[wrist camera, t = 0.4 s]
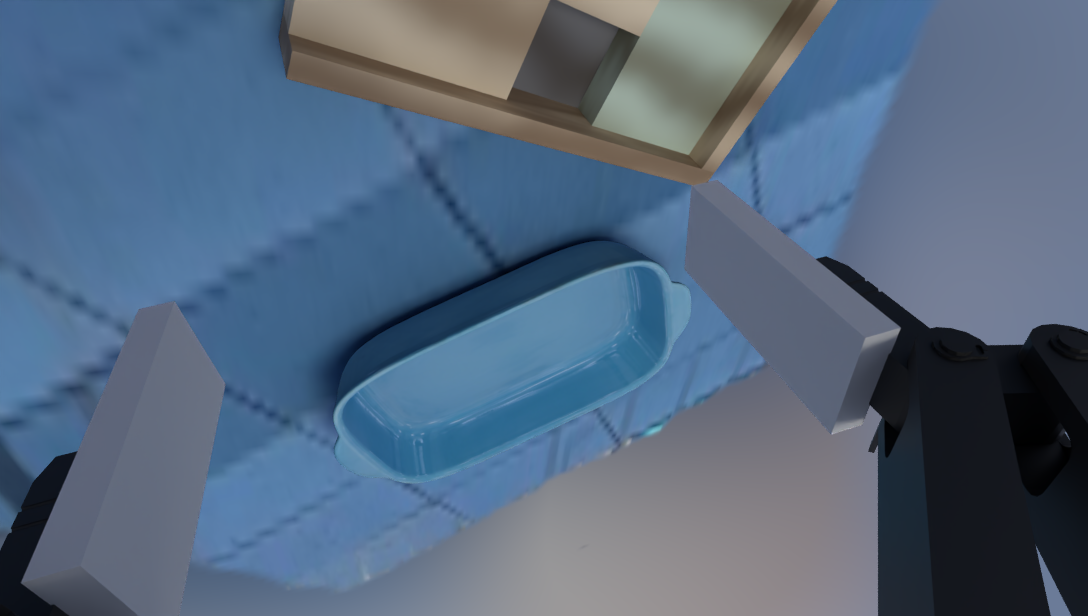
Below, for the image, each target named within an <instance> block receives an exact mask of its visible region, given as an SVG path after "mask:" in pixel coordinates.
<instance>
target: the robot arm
mask: <svg viewBox="0 0 1088 616" xmlns="http://www.w3.org/2000/svg"><path fill="white" fill-rule="evenodd" d="M685 270H686V271H687V273H688V274H689V275H690V276H691V277H692V278H693V279H694V281H695V282H696V283H697V284H698V285H699V286H700V287H701V288H702V290H703V291H704V292H705V293H706V294H707V295H708V296H709V297H710V299H711V300H712V301H713V302H714V303H715V304H716V305H717V306H718V308H719V309H720V310H721V311H722V312H723V313H724V314H725V315H726V317H727V318H728V319H729V320H730V321H731V322H732V323H733V325H734V326H735V327H736V328H737V329H738V330H739V331H740V332H741V334H742V335H743V336H744V337H745V338H746V339H747V340H748V341H749V343H750V344H751V345H752V346H753V347H754V348H755V349H756V350H757V352H758V353H759V354H760V355H761V356H762V357H763V358H764V359H765V361H766V362H767V363H768V364H769V365H770V366H771V367H772V369H773V370H775V372H776V373H777V374H778V375H779V376H780V377H781V379H782V380H783V381H784V382H785V383H786V384H787V385H788V387H789V388H790V389H791V390H792V391H793V392H794V393H795V394H796V396H797V397H798V398H799V399H800V400H801V401H802V402H803V403H804V404H805V406H806V407H807V408H808V409H809V410H810V411H811V413H812V414H813V415H814V416H815V417H816V418H817V419H818V420H819V421H820V422H821V424H822V425H823V426H824V427H825V428H826V429H827V430H828V432H829V433H830V434H834V433H838V432H841V431H844V430H847V429H850V428H853V427H857V426H860V425H862V423H863V421H864V419H865V416H866V414H867V411H868V409H869V406H870V405H871V406H872V407H873V408H874V409H875V410H876V411H877V412H878V413H879V414H880V415H881V416H882V419H881V421H880V423H879V426H878V428H877V430H876V433H875V435H874V437H873V440H872V442H871V445H870V448H869V452H872V453H874V452H875V449H876V447H877V445H878V616H1051V615H1050V610H1049V606H1048V601H1047V596H1046V592H1045V587H1044V582H1043V578H1042V573H1041V568H1040V564H1039V559H1038V554H1037V550H1036V546H1037V548H1038V550H1039V552H1040V554H1041V556H1042V558H1043V560H1044V562H1045V564H1046V566H1047V568H1048V570H1049V572H1050V574H1051V576H1052V578H1053V580H1054V582H1055V584H1056V586H1057V588H1058V590H1059V592H1060V594H1061V596H1062V597H1063V600H1064V602H1065V604H1066V606H1067V608H1068V609H1069V612H1070V614H1071V616H1088V332H1087V331H1084V330H1082V329H1077V328H1075V327H1071V326H1065V325H1058V324H1049V325H1041V326H1039V327H1036V328H1034V329H1033V330H1032V331H1031V333H1030V335H1029V336H1028V338H1027V340H1026V342H1025V343H1024V345H986V344H985V343H984V342H982V341H981V340H980V339H978V338H976V337H974V336H973V335H970V334H969V333H967V332H963V331H959V330H956V329H952V328H939V327H935V328H929V327H927V326H926V325H925V324H924V323H922V322H921V321H920V320H918V319H917V318H916V317H914V316H913V315H912V314H910V313H909V312H908V311H907V310H905V309H904V308H903V307H901V306H900V305H899V304H897V303H896V302H895V301H893V300H892V299H891V298H890V297H888V296H887V295H886V294H884V293H883V292H879V291H878V288H876V287H875V286H874V285H873V284H871V283H870V282H869V281H865V278H864V277H862V276H861V275H860V274H858V273H857V272H855V271H854V270H853V269H852V268H850V267H849V266H847V265H845V264H843V263H840V262H838V261H836V260H833V259H831V258H829V257H822V258H818V259H815V258H814V257H812V256H811V255H810V254H809V253H807V252H806V251H805V250H804V249H802V248H801V247H800V246H799V245H797V244H796V243H795V242H794V241H792V240H791V239H790V238H789V237H787V236H786V235H785V234H784V233H782V232H781V231H780V230H779V229H777V228H776V227H775V226H774V225H772V224H771V223H770V222H769V221H767V220H766V219H765V218H764V217H762V216H761V215H760V214H759V213H758V212H756V211H755V210H754V209H753V208H751V207H750V206H749V205H748V204H746V203H745V202H744V201H743V200H741V199H740V198H739V197H738V196H736V195H735V194H734V193H733V192H731V191H730V190H729V189H728V188H726V187H725V186H724V185H723V184H721V183H720V182H719V181H718V180H715V181H711V182H706V183H702V184H697V185H693V186H691V198H690V210H689V222H688V234H687V245H686V257H685ZM224 389H225V383H224V381H223V379H222V378H221V376H220V375H219V373H218V371H217V370H216V368H215V366H214V365H213V363H212V362H211V360H210V358H209V357H208V355H207V353H206V352H205V350H204V349H203V347H202V345H201V344H200V342H199V340H198V339H197V337H196V335H195V334H194V332H193V331H192V329H191V327H190V326H189V324H188V322H187V321H186V319H185V318H184V316H183V314H182V313H181V311H180V309H179V308H178V306H177V305H176V303H175V301H173V302H169V303H165V304H160V305H156V306H151V307H147V308H142V309H139V310H138V312H137V315H136V317H135V319H134V322H133V324H132V326H131V329H130V331H129V333H128V336H127V338H126V340H125V343H124V345H123V347H122V350H121V352H120V354H119V356H118V359H117V361H116V363H115V366H114V368H113V370H112V373H111V375H110V377H109V380H108V382H107V384H106V387H105V389H104V391H103V394H102V396H101V398H100V401H99V403H98V405H97V408H96V410H95V412H94V415H93V417H92V419H91V421H90V424H89V426H88V428H87V431H86V433H85V435H84V438H83V440H82V442H81V445H80V447H79V449H78V451H77V452H73V453H69V454H65V455H61V456H57V457H55V458H54V459H53V461H52V462H51V463H50V464H49V465H48V466H47V467H46V468H45V469H44V471H43V472H42V473H41V474H40V475H39V476H38V477H37V478H36V479H35V481H34V482H33V483H32V485H31V488H30V490H29V492H28V494H27V496H26V498H25V500H24V502H23V504H22V506H21V508H22V512H18V515H17V517H16V519H15V521H14V523H13V525H12V527H11V529H12V533H9V534H8V535H7V537H6V539H5V542H4V544H3V546H2V548H1V550H0V616H179V613H180V608H181V603H182V598H183V593H184V588H185V583H186V578H187V573H188V568H189V563H190V558H191V553H192V548H193V543H194V538H195V533H196V528H197V523H198V518H199V513H200V508H201V503H202V498H203V493H204V488H205V483H206V478H207V473H208V468H209V463H210V458H211V453H212V448H213V443H214V438H215V433H216V428H217V423H218V418H219V413H220V408H221V403H222V398H223V394H224ZM1065 432H1067V434H1068V436H1069V439H1070V440H1069V439H1068V437H1067V435H1066V434H1065ZM1035 544H1036V545H1035Z"/></svg>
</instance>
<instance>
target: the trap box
mask: <svg viewBox="0 0 1088 616" xmlns="http://www.w3.org/2000/svg"><path fill="white" fill-rule="evenodd" d="M836 2H837V0H285V4H284V10H283V16H282V21H281V27H280V32H279V42H280V47H281V52H282V57H283V63H284V68H285V73H286V78H287V79H289V80H293V81H297V82H301V83H305V84H308V85H312V86H316V87H320V88H324V89H328V90H331V91H335V92H339V93H343V94H347V95H350V96H354V97H358V98H362V99H366V100H369V101H373V102H377V103H381V104H385V105H389V106H392V107H396V108H400V109H404V110H408V111H411V112H415V113H419V114H423V115H427V116H431V117H434V118H438V119H442V120H446V121H450V122H453V123H457V124H461V125H465V126H469V127H472V128H476V129H480V130H484V131H488V132H492V133H495V134H499V135H503V136H507V137H511V138H514V139H518V140H522V141H526V142H530V143H533V144H537V145H541V146H545V147H549V148H553V149H556V150H560V151H564V152H568V153H572V154H575V155H579V156H583V157H587V158H591V159H594V160H598V161H602V162H606V163H610V164H614V165H617V166H621V167H625V168H629V169H633V170H636V171H640V172H644V173H648V174H652V175H655V176H659V177H663V178H667V179H671V180H675V181H678V182H682V183H686V184H690V185H697V184H702V183H706V182H708V181H709V179H710V178H711V177H712V175H713V174H714V172H715V171H716V170H717V168H718V167H719V165H720V164H721V163H722V161H723V160H724V158H725V157H726V156H727V154H728V153H729V151H730V150H731V149H732V147H733V146H734V144H735V143H736V142H737V140H738V139H739V137H740V136H741V135H742V133H743V132H744V130H745V129H746V128H747V126H748V125H749V123H750V122H751V121H752V119H753V118H754V116H755V115H756V114H757V112H758V111H759V109H760V108H761V107H762V105H763V104H764V102H765V101H766V100H767V98H768V97H769V95H770V94H771V93H772V91H773V90H774V88H775V87H776V86H777V84H778V83H779V81H780V80H781V79H782V77H783V76H784V74H785V73H786V72H787V70H788V69H789V67H790V66H791V65H792V63H793V62H794V60H795V59H796V58H797V56H798V55H799V53H800V52H801V51H802V49H803V48H804V46H805V45H806V44H807V42H808V41H809V39H810V38H811V37H812V35H813V34H814V32H815V31H816V30H817V28H818V27H819V25H820V24H821V23H822V21H823V20H824V18H825V17H826V16H827V14H828V13H829V11H830V10H831V9H832V7H833V6H834V4H835V3H836Z"/></svg>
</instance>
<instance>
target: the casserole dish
mask: <svg viewBox="0 0 1088 616" xmlns="http://www.w3.org/2000/svg"><path fill="white" fill-rule="evenodd" d="M690 314H691V295H690V291H689V289H688V287H687V286H686V285H684V284H682V283H679V282H672V281H671V280H670V278H669V276H668V274H667V272H666V271H665V269H664V268H663V267H662V266H661V265H659V264H658V263H656V262H655V261H653V260H651V259H650V258H648V257H646V256H645V255H643V254H641V253H639V252H638V251H636V250H634V249H632V248H630V247H628V246H626V245H623V244H620V243H617V242H612V241H592V242H586V243H582V244H578V245H575V246H572V247H569V248H566V249H563V250H560V251H557V252H555V253H552V254H550V255H547V256H545V257H542V258H540V259H538V260H536V261H534V262H531V263H529V264H527V265H525V266H523V267H520V268H518V269H516V270H514V271H512V272H509V273H507V274H505V275H503V276H501V277H498V278H496V279H494V280H492V281H490V282H487V283H485V284H483V285H481V286H479V287H476V288H474V289H472V290H470V291H467V292H465V293H463V294H461V295H459V296H456V297H454V298H452V299H450V300H448V301H445V302H443V303H441V304H439V305H436V306H434V307H432V308H430V309H428V310H426V311H424V312H421V313H419V314H417V315H415V316H413V317H411V318H409V319H407V320H405V321H403V322H401V323H399V324H397V325H395V326H393V327H391V328H389V329H387V330H385V331H384V332H382V333H380V334H379V335H377V336H375V337H374V338H372V339H371V340H369V341H368V342H367V343H365V344H364V345H363V346H362V347H360V348H359V349H358V350H357V351H356V352H355V353H354V354H353V355H352V357H351V358H350V360H349V361H348V363H347V364H346V366H345V368H344V370H343V373H342V376H341V379H340V383H339V387H338V392H337V398H336V404H335V407H334V411H333V422H334V425H335V429H336V431H337V433H338V438H337V440H336V443H335V446H334V455H335V458H336V459H337V461H338V462H339V463H340V464H341V465H342V466H343V467H345V468H346V469H347V470H349V471H351V472H353V473H354V474H357V475H359V476H363V477H369V478H389V479H393V480H395V481H398V482H403V483H422V482H427V481H432V480H436V479H440V478H443V477H446V476H449V475H452V474H454V473H457V472H459V471H462V470H464V469H467V468H469V467H471V466H474V465H476V464H478V463H480V462H482V461H485V460H487V459H489V458H491V457H493V456H495V455H498V454H500V453H502V452H504V451H506V450H508V449H511V448H513V447H515V446H517V445H519V444H521V443H523V442H526V441H528V440H530V439H532V438H534V437H536V436H538V435H541V434H543V433H545V432H547V431H549V430H551V429H553V428H556V427H558V426H560V425H562V424H564V423H566V422H568V421H571V420H573V419H575V418H577V417H579V416H582V415H584V414H586V413H588V412H590V411H592V410H594V409H596V408H599V407H601V406H603V405H605V404H607V403H609V402H611V401H613V400H615V399H617V398H619V397H621V396H623V395H624V394H626V393H628V392H630V391H632V390H634V389H635V388H637V387H638V386H640V385H641V384H643V383H645V382H646V381H648V380H649V379H650V378H651V377H652V376H654V375H655V374H656V373H657V372H658V371H659V370H660V369H661V368H662V367H663V366H664V364H665V363H666V361H667V360H668V358H669V356H670V353H671V350H672V347H673V344H674V342H675V341H676V340H677V338H678V337H679V336H680V334H681V333H682V331H683V330H684V328H685V327H686V325H687V323H688V321H689V318H690Z"/></svg>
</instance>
